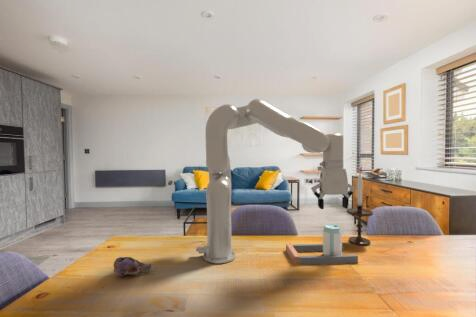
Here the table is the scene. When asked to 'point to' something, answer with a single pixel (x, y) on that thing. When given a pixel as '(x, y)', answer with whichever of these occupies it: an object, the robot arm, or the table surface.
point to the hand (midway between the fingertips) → (333, 208)
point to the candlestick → (359, 216)
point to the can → (332, 240)
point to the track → (322, 259)
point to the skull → (130, 266)
